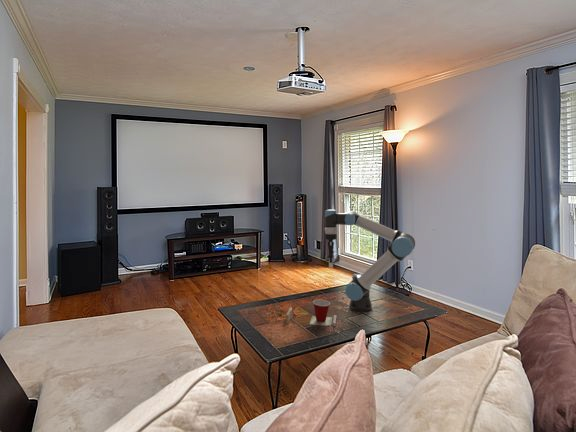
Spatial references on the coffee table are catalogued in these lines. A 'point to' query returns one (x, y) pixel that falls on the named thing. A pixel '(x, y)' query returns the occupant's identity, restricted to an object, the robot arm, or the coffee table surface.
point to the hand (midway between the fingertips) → (330, 265)
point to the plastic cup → (321, 309)
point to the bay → (314, 319)
